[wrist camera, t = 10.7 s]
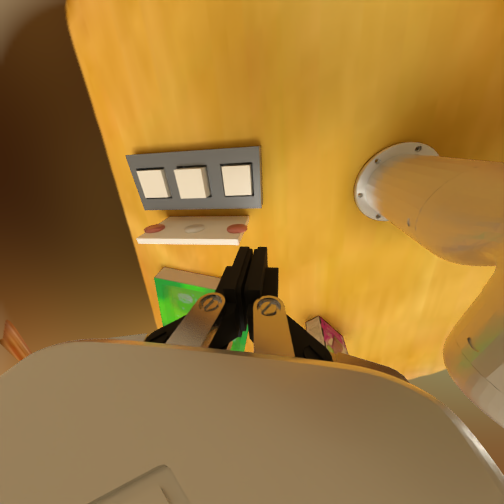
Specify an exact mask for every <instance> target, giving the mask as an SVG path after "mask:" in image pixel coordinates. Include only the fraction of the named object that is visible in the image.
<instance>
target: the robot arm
mask: <svg viewBox="0 0 504 504" xmlns="http://www.w3.org/2000/svg"><path fill="white" fill-rule="evenodd" d="M415 148H416V150H415ZM376 159H377V161H376V162H375V160H376ZM359 193H360V195H358V194H359ZM354 199H355V202H356V205H357V207H358V208H359V210H360V211H361V212H362V213H363V214H365V215H366V216H367V217H369V218H371V219H374V220H379V221H390V222H391V223H393V224H394V225H395V226H397V227H398V228H399V229H401V230H402V231H403V232H405V233H406V234H407V235H409V236H410V237H411V238H413V239H414V240H415V241H417V242H418V243H419V244H421V245H422V246H423V247H425V248H426V249H428V250H429V251H430V252H432V253H433V254H435V255H436V256H438V257H440V258H442V259H444V260H447V261H449V262H453V263H457V264H462V265H470V266H496V269H495V271H494V274H493V275H492V277H491V278H490V279H489V281H488V282H487V284H486V285H485V286H484V288H483V289H482V292H481V293H480V294H479V296H478V297H477V298H476V299H475V301H474V302H473V303H472V305H471V306H470V307H469V308H468V310H467V311H466V312H465V313H464V315H463V316H462V317H461V319H460V320H459V321H458V322H457V324H456V325H455V327H454V328H453V329H452V331H451V332H450V334H449V336H448V337H447V339H446V341H445V344H444V348H443V359H444V363H445V366H446V368H447V370H448V372H449V374H450V376H451V378H452V379H453V381H454V382H455V383H456V385H457V386H458V387H459V388H460V390H461V391H462V392H463V393H464V394H465V395H466V396H467V397H468V398H469V399H470V400H471V401H472V402H473V403H474V404H475V405H476V406H477V407H478V408H479V409H480V410H482V411H483V412H484V413H485V414H486V415H487V416H489V417H490V418H491V419H493V420H494V421H495V422H496V423H498V424H499V425H500V426H502V427H503V428H504V162H493V161H483V160H472V159H462V158H451V157H440V156H439V154H438V153H437V152H436V151H435V150H434V149H433V148H432V147H430V146H428V145H426V144H423V143H419V142H403V143H399V144H395V145H392V146H390V147H387V148H385V149H384V150H382V151H380V152H379V153H377V154H376V155H375V156H373V157H372V158H371V159H370V160H369V161H368V162H367V163H366V164H365V165H364V167H363V168H362V170H361V171H360V173H359V175H358V177H357V179H356V183H355V186H354ZM377 214H378V215H377ZM376 215H377V216H376ZM247 324H248V331H249V336H250V339H251V340H252V342H253V343H254V353H251V352H242V351H232V350H231V347H232V344H233V342H232V341H233V340H234V339H236V338H237V337H242V332H243V331H245V332H246V329H247ZM0 504H504V475H503V474H502V473H501V471H500V470H499V468H498V467H497V465H496V464H495V462H494V461H493V460H492V458H490V456H489V454H488V453H487V452H486V450H485V449H484V448H483V446H482V445H481V444H480V442H479V441H478V440H477V439H476V437H475V436H474V435H473V434H472V432H471V431H470V430H469V429H468V428H467V426H466V425H465V424H464V423H463V422H462V421H461V420H460V419H459V418H458V416H456V414H454V412H452V411H451V410H450V409H449V408H448V407H447V406H446V405H445V404H443V403H442V402H441V401H439V400H438V399H437V398H435V397H434V396H432V395H430V394H429V393H427V392H425V391H423V390H422V389H420V388H418V387H416V386H414V385H412V384H410V383H409V382H408V381H407V379H406V378H405V377H404V376H403V375H402V374H400V373H399V372H398V371H396V370H394V369H392V368H390V367H387V366H384V365H380V364H377V363H374V362H370V361H367V360H364V359H360V358H357V357H354V356H351V355H347V354H344V353H341V352H337V354H335V353H332V352H329V350H328V349H327V348H326V347H325V346H324V345H323V344H321V343H320V342H319V341H318V340H317V339H315V338H314V337H313V336H312V335H311V334H309V333H308V332H307V331H306V330H305V329H303V328H302V327H301V326H300V325H299V324H297V323H296V322H295V321H294V320H293V319H291V318H290V317H289V316H288V315H287V314H286V311H285V306H284V304H283V302H282V301H281V300H280V299H279V298H278V268H269V267H268V265H267V247H258V249H255V250H254V254H253V250H252V249H250V248H249V247H240V248H239V251H238V253H237V256H236V258H235V261H234V263H233V265H232V266H227V267H226V268H225V271H224V273H223V275H222V277H221V279H220V282H219V284H218V286H217V288H216V290H215V293H208V294H205V295H203V296H201V297H200V298H199V299H198V300H197V301H196V303H195V304H194V305H193V307H192V308H191V309H190V311H189V312H188V313H187V315H185V316H183V317H181V318H179V319H177V320H175V321H173V322H171V323H169V324H167V325H166V326H164V327H162V328H160V329H158V330H156V331H154V332H153V333H151V334H150V335H149V336H148V334H147V333H146V334H138V335H130V336H122V337H115V338H108V339H82V340H75V341H68V342H64V343H60V344H56V345H53V346H49V347H47V348H44V349H41V350H39V351H36V352H34V353H32V354H31V355H29V356H27V357H26V358H24V359H23V360H21V361H20V362H19V363H17V364H16V365H14V366H13V367H12V368H11V369H9V370H8V371H6V372H5V373H4V374H3V375H1V376H0Z"/></svg>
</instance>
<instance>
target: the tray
mask: <svg viewBox="0 0 504 504" xmlns="http://www.w3.org/2000/svg"><path fill="white" fill-rule="evenodd" d="M220 279H221V278H217V277H212V276H207V275H202V274H197V273H192V272H187V271H182V270H177V269H172V268H167V267H164V268H163V269H162V270H161V271H160V272H159V273H158V274H157V275H156V276H155V277H154V280H155V285H156V291H157V296H158V301H159V307H160V312H161V318H162V323H163V327H164V326H166V325H167V324H169V323H171V322H173V321H175V320H177V319H179V318H181V317H183V316H185V315H187V313H188V312H189V311H190V309H191V308H192V307H193V305H194V304H195V303H196V301H197V300H198V299H199V298H200V297H201V296H203V295H205V294H208V293H215V290H216V288H217V286H218V284H219V282H220ZM247 334H248V324H247V329H246V332H245V331H243V332H242V337H237V338H236V339H234V340H233V341H232V342H233V344H232V347H231V350H232V351H242V352H244V349H245V344H246V339H247Z"/></svg>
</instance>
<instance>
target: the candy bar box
mask: <svg viewBox="0 0 504 504" xmlns="http://www.w3.org/2000/svg"><path fill="white" fill-rule="evenodd" d="M306 330H307V332H308V333H309V334H311V335H312V336H313V337H314V338H315V339H317V340H318V341H319V342H320V343H321V344H323V345H324V346H325V347H326V348H327V349H328V350H329V352H332V353H335V354H337V352H341V353H344V354H347V355H348V352H347V348H346V345H345V342H344V339H343V337H342V336H341V335H340V334H339V333H338V332H337V331H336V330H334V329H333V328H332V327H331V326H330V325H329V324H328V323H326V322H325V321H324V320H323V319H322V318H321V317H320V316H318V317H315V318H314V319H312V320H310V321H308V322H306Z"/></svg>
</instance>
